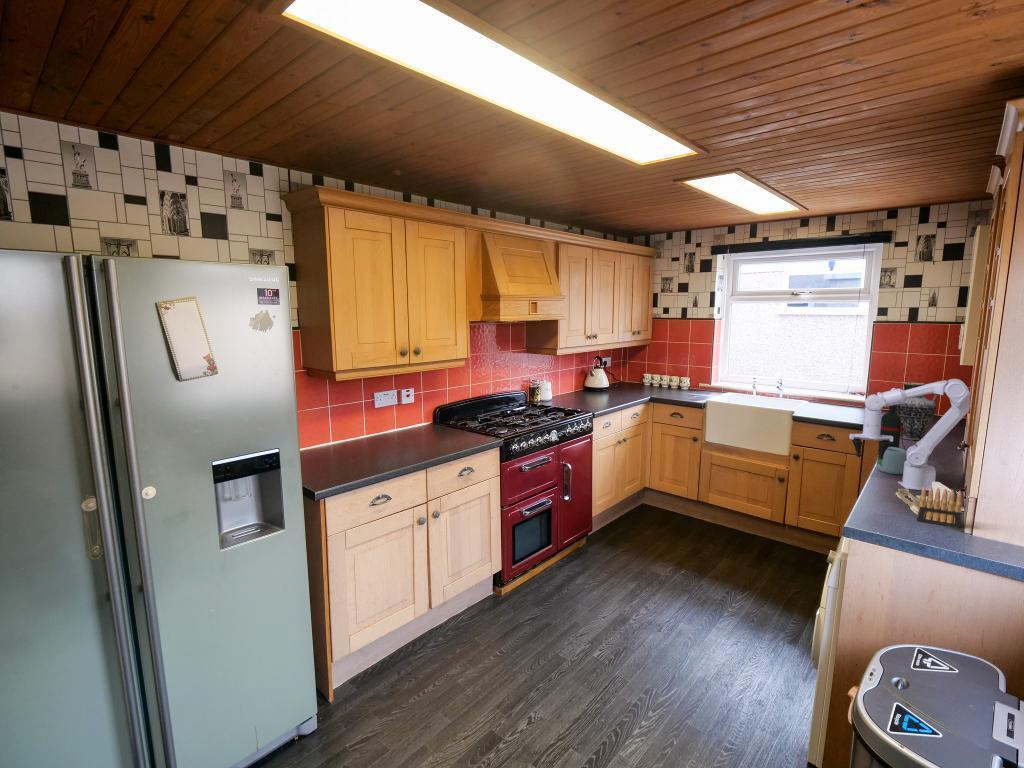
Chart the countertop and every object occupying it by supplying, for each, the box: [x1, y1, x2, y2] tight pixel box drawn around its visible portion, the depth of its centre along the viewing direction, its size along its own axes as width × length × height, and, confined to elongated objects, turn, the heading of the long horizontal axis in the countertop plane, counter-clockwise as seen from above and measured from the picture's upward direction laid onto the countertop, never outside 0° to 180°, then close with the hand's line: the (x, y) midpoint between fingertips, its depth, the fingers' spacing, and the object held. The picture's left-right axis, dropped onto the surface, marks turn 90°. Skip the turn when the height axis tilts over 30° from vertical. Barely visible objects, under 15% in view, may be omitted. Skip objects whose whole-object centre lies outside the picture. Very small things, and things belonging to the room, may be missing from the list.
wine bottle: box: [877, 405, 906, 455], centre depth 240 cm, size 8×10×30 cm
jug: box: [895, 382, 940, 441], centre depth 272 cm, size 21×19×30 cm
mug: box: [876, 447, 907, 475], centre depth 220 cm, size 15×11×10 cm
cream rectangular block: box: [932, 481, 953, 507], centre depth 181 cm, size 2×10×6 cm, turn 163°
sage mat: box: [915, 494, 964, 511], centre depth 181 cm, size 10×13×1 cm
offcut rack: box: [895, 488, 933, 516], centre depth 181 cm, size 6×20×3 cm, turn 163°
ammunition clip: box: [916, 486, 963, 528], centre depth 164 cm, size 11×2×12 cm, turn 58°
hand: (869, 457), depth 207 cm, fingers open, 7 cm apart
